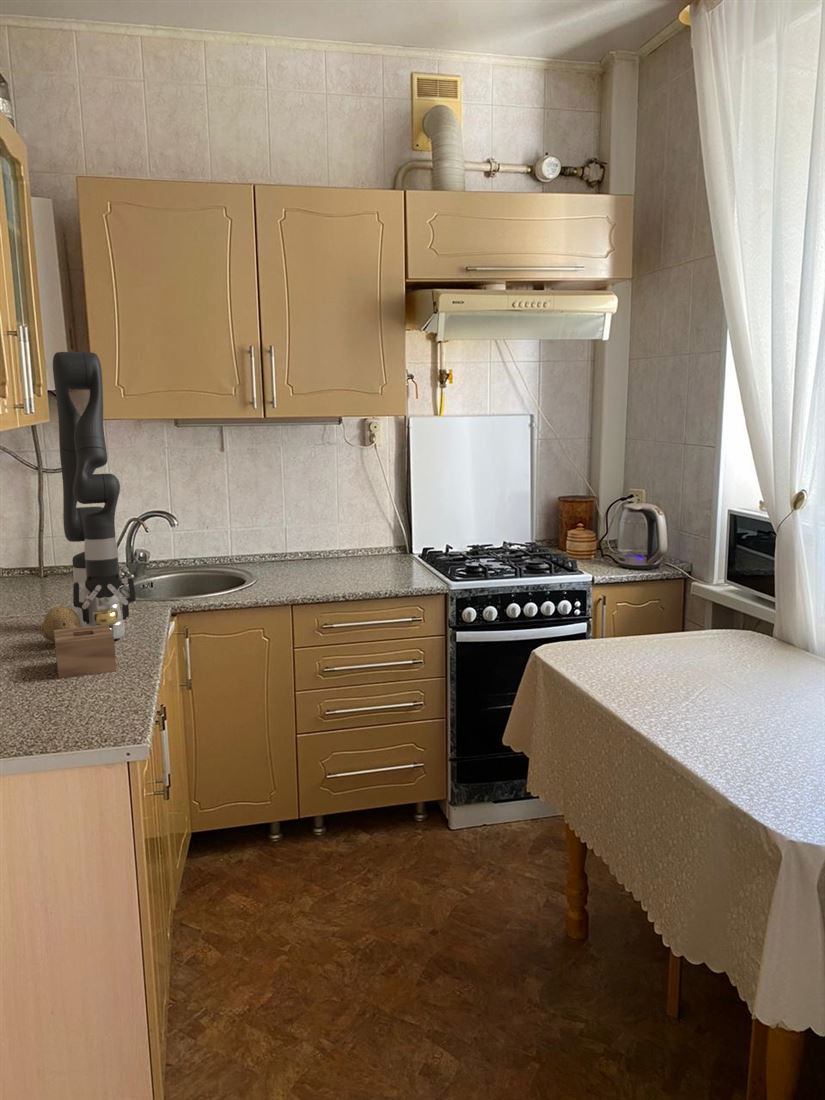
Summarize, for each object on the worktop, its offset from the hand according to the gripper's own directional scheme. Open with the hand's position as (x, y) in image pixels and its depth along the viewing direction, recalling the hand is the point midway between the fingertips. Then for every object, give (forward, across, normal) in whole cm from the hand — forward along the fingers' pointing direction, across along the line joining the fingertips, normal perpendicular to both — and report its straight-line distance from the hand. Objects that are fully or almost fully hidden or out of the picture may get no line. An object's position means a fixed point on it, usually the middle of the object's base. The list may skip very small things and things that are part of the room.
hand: (106, 621), depth 205 cm
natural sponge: (+8, +10, -11) cm, 17 cm away
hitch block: (+7, +6, +13) cm, 16 cm away
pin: (+7, 0, 0) cm, 7 cm away
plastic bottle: (+7, -2, -10) cm, 13 cm away
